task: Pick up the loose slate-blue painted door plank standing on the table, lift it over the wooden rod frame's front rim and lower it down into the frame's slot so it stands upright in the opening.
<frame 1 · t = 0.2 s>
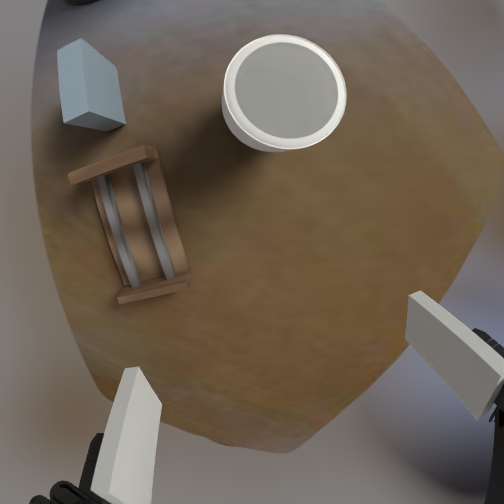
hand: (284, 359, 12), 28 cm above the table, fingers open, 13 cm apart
wooden rod frame: (139, 222, 36), on the table
door panel: (110, 98, 30), on the table
jar: (260, 115, 34), on the table
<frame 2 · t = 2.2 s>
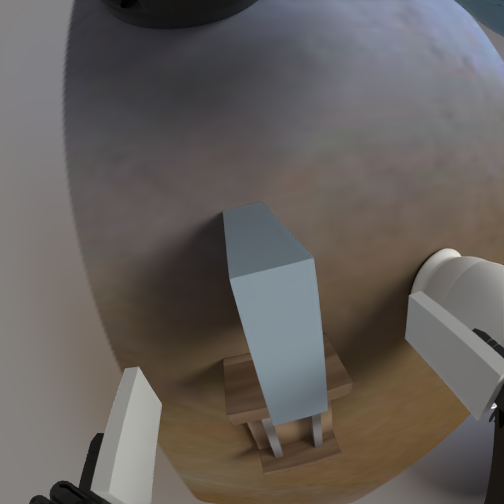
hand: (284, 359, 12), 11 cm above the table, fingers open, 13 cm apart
wooden rod frame: (287, 402, 29), on the table
door panel: (254, 261, 22), on the table
jar: (435, 283, 26), on the table
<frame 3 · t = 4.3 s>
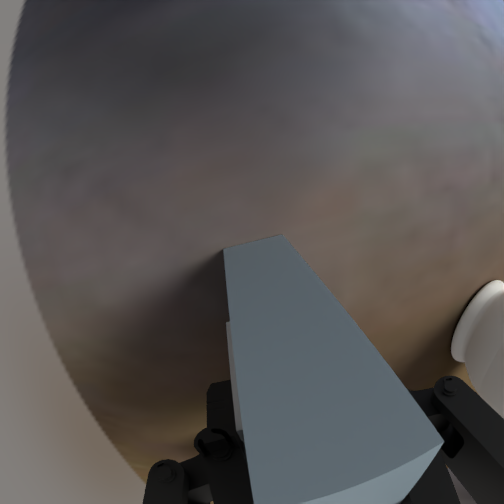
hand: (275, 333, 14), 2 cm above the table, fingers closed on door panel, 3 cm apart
door panel: (269, 317, 15), on the table, touching gripper
jar: (477, 319, 19), on the table
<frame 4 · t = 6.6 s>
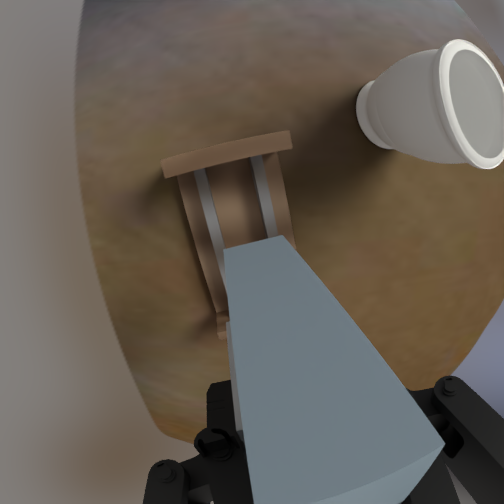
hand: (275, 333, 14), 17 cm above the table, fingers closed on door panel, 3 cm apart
wooden rod frame: (242, 231, 29), on the table
door panel: (270, 317, 15), point 15 cm above the table, touching gripper
jar: (384, 114, 27), on the table
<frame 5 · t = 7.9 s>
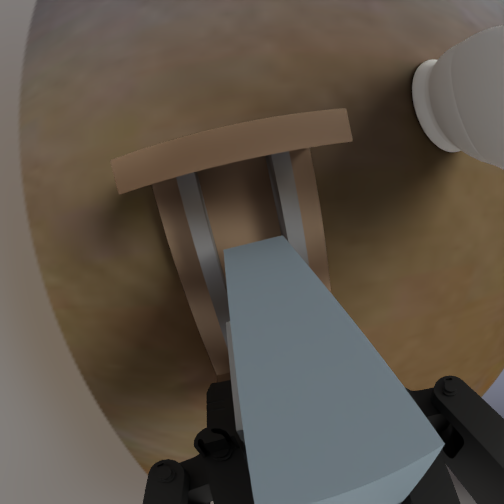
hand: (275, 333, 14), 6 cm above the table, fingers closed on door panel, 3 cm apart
wooden rod frame: (254, 268, 20), on the table
door panel: (270, 317, 15), point 5 cm above the table, touching gripper
jar: (442, 105, 17), on the table
when the fingers open (4 cm above the table, at t = 8.9 s): door panel drops 1 cm, resting on wooden rod frame.
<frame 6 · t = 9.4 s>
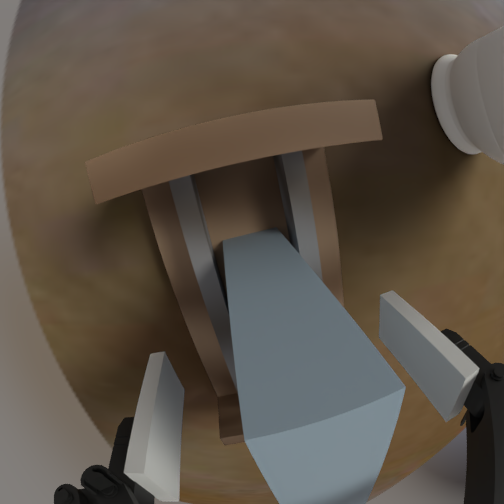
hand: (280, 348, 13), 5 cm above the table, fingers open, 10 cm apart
wooden rod frame: (259, 283, 17), on the table
door panel: (265, 304, 17), point 1 cm above the table, touching wooden rod frame
jar: (461, 103, 15), on the table
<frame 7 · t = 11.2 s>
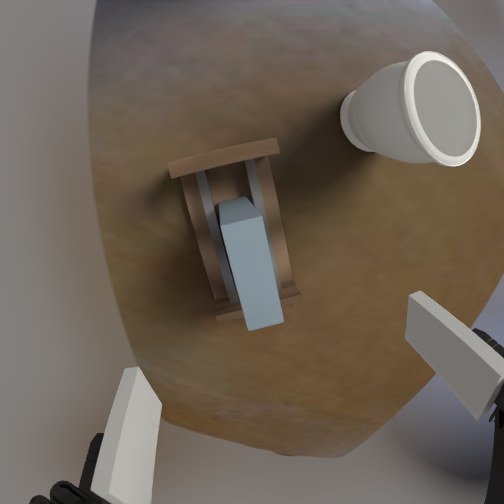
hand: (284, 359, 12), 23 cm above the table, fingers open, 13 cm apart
wooden rod frame: (238, 226, 33), on the table
door panel: (241, 236, 33), point 1 cm above the table, touching wooden rod frame
jar: (367, 120, 31), on the table
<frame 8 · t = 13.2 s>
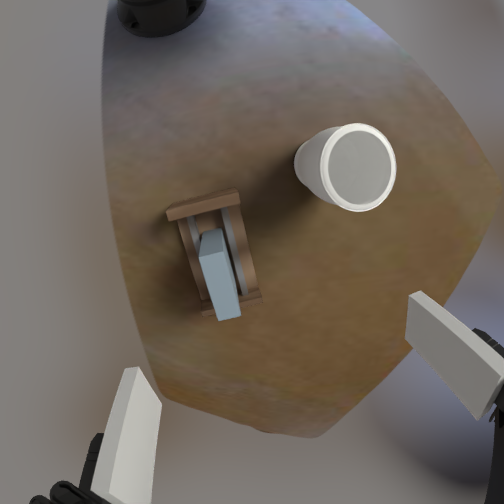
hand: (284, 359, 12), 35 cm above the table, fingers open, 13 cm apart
wooden rod frame: (217, 248, 46), on the table
door panel: (219, 255, 45), point 1 cm above the table, touching wooden rod frame
jar: (317, 163, 44), on the table
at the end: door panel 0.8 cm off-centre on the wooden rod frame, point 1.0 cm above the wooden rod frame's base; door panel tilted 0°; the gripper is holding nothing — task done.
